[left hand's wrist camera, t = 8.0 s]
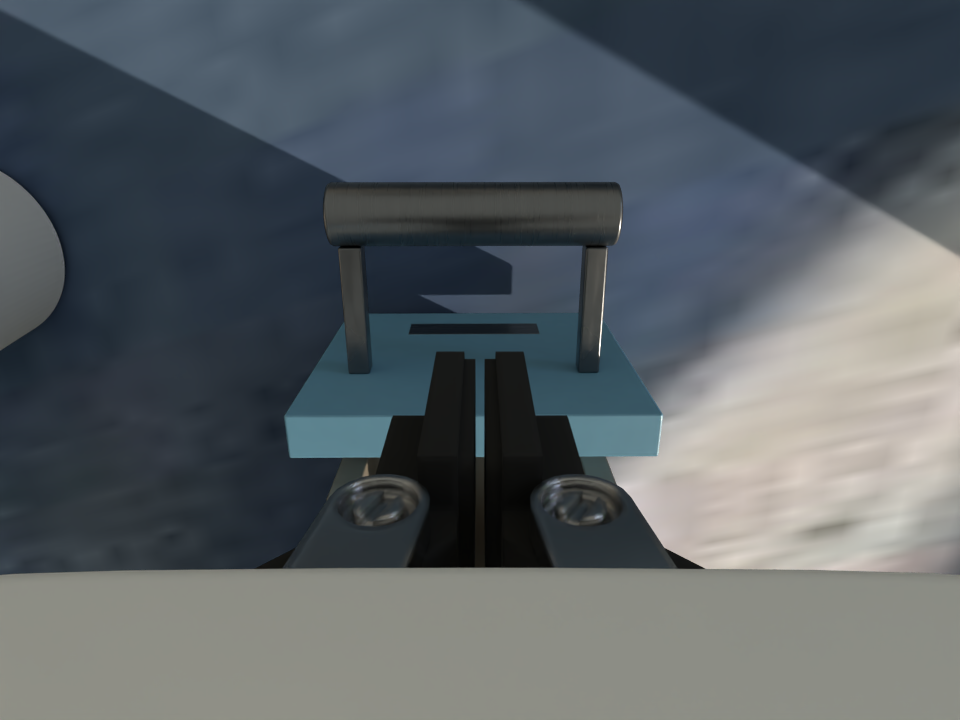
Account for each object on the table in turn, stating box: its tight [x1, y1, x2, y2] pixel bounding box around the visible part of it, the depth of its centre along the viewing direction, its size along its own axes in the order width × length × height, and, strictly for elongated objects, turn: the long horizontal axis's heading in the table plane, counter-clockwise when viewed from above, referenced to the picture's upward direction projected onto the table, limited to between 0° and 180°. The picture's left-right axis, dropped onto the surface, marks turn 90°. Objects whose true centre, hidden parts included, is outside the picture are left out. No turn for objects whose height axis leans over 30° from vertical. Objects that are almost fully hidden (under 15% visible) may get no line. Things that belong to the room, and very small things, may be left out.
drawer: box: [284, 182, 663, 568], centre depth 21 cm, size 19×9×8 cm, turn 0°
